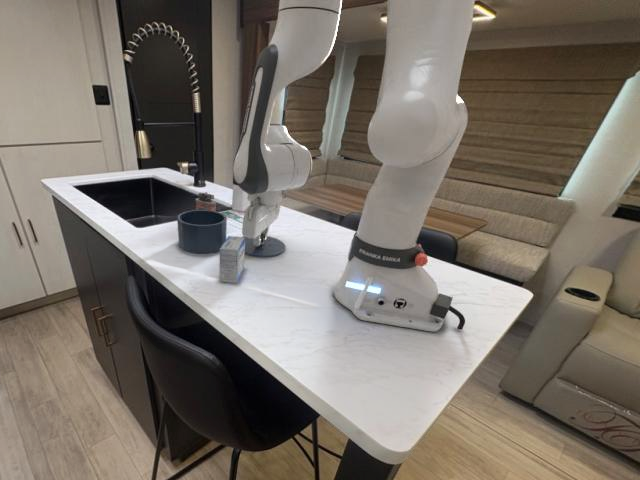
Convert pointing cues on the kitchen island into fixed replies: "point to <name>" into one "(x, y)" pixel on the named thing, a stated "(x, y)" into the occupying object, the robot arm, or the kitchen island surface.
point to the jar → (239, 198)
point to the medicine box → (232, 259)
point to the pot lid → (264, 247)
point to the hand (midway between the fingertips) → (259, 242)
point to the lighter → (205, 202)
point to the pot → (201, 231)
